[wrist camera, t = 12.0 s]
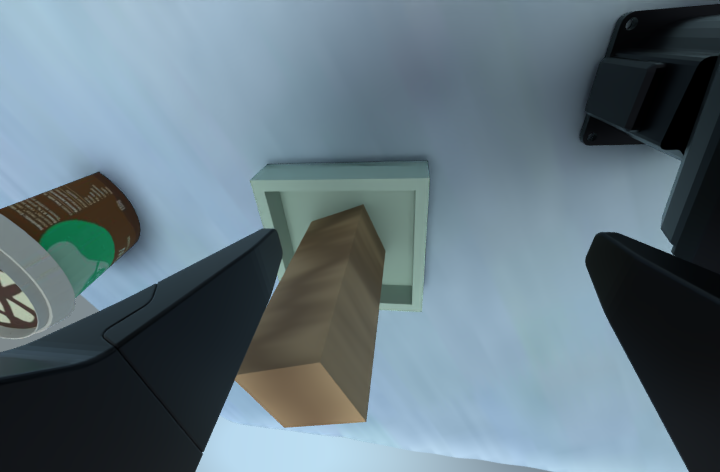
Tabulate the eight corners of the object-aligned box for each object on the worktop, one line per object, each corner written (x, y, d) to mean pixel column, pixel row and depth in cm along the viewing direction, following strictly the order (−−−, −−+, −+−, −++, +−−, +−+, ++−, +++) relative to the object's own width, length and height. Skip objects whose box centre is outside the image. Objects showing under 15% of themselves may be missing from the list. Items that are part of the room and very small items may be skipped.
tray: (427, 160, 21) (429, 178, 18) (420, 286, 27) (421, 312, 25) (267, 164, 22) (249, 180, 20) (296, 281, 29) (285, 304, 26)
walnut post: (363, 204, 22) (319, 362, 12) (385, 251, 24) (366, 421, 14) (311, 221, 24) (230, 375, 13) (336, 264, 26) (284, 427, 15)
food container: (130, 279, 32) (33, 364, 24) (71, 243, 30) (-56, 322, 22) (173, 209, 26) (63, 290, 18) (103, 159, 24) (-55, 225, 16)
